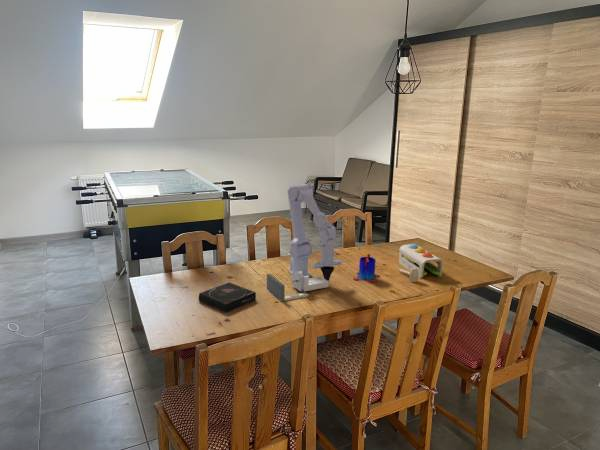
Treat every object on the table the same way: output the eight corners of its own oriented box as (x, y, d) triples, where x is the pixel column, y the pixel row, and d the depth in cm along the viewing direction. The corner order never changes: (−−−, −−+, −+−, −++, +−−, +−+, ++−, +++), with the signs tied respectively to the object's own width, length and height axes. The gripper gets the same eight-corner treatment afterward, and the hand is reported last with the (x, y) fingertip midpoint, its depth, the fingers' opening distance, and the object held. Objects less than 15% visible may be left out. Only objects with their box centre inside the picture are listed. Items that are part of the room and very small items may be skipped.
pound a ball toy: (385, 263, 242) (387, 242, 239) (417, 261, 247) (419, 240, 244) (411, 283, 216) (413, 259, 213) (446, 281, 220) (449, 257, 217)
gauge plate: (288, 285, 207) (288, 270, 205) (294, 284, 208) (294, 269, 206) (299, 294, 197) (300, 279, 195) (306, 293, 198) (307, 278, 196)
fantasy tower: (376, 284, 214) (378, 259, 211) (351, 280, 218) (353, 256, 215) (380, 275, 225) (382, 252, 222) (357, 272, 228) (358, 249, 225)
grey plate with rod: (266, 288, 205) (266, 274, 204) (292, 284, 211) (293, 269, 209) (281, 301, 193) (281, 285, 191) (308, 296, 198) (308, 281, 197)
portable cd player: (228, 290, 204) (228, 282, 203) (255, 301, 193) (255, 292, 192) (198, 301, 192) (198, 292, 191) (226, 313, 181) (225, 304, 180)
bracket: (303, 293, 201) (303, 277, 199) (295, 287, 207) (296, 272, 205) (328, 288, 207) (329, 272, 205) (320, 283, 213) (321, 268, 211)
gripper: (318, 257, 200) (317, 286, 204) (345, 253, 207) (344, 281, 210) (310, 253, 206) (309, 281, 210) (337, 249, 213) (336, 276, 216)
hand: (326, 281), depth 210 cm, fingers closed
